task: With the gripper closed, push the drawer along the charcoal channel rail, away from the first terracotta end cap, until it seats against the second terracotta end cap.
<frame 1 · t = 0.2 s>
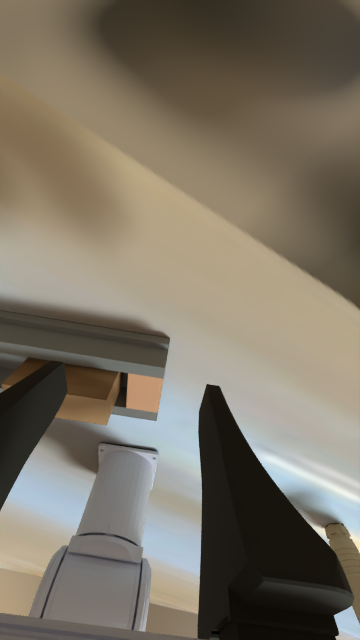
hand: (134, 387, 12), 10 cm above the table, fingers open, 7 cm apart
handle: (333, 525, 38), on the table
rail: (58, 353, 23), on the table
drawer: (83, 364, 23), point 1 cm above the table, touching rail
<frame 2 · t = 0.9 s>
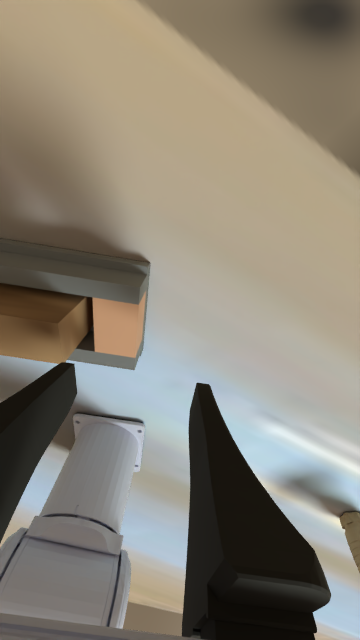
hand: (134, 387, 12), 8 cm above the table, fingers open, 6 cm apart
handle: (349, 513, 33), on the table
rail: (12, 289, 19), on the table
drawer: (42, 300, 18), point 1 cm above the table, touching rail
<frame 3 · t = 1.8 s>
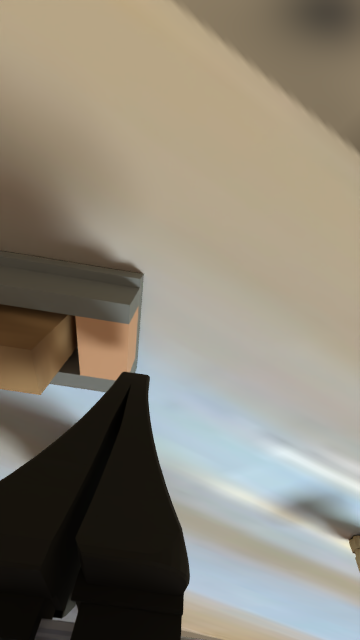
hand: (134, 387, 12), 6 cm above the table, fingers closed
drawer: (21, 315, 16), point 1 cm above the table, touching rail
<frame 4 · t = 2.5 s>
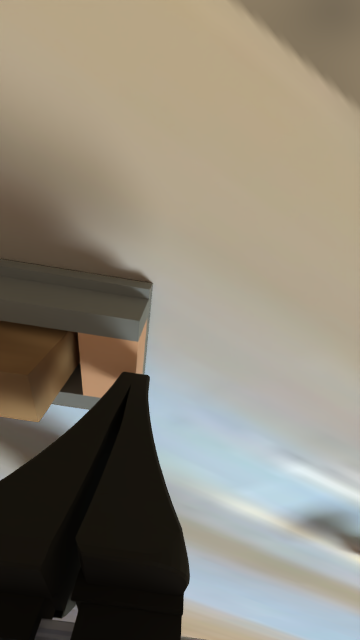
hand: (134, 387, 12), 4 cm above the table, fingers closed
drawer: (18, 328, 14), point 1 cm above the table, touching rail
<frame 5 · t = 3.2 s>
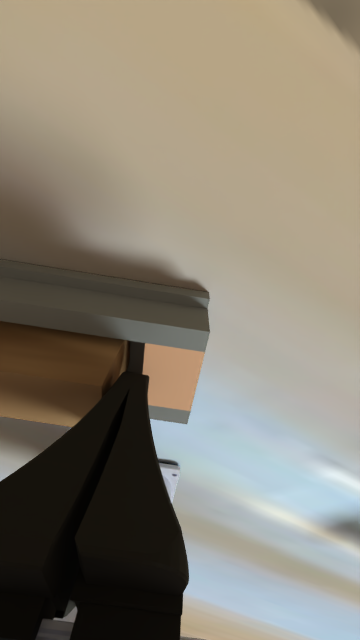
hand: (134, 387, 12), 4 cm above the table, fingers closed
rail: (34, 321, 15), on the table
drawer: (67, 335, 15), point 1 cm above the table, touching gripper, rail
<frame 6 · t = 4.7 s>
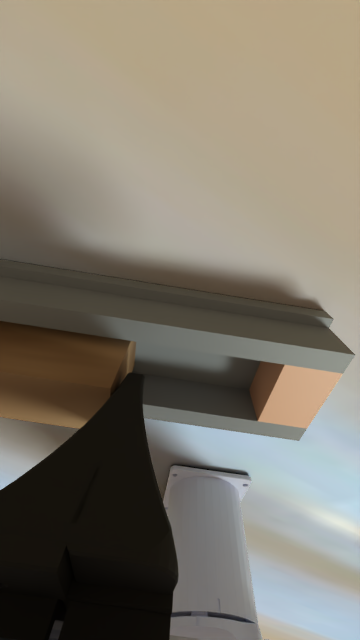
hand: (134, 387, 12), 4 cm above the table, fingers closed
rail: (139, 337, 16), on the table
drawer: (73, 337, 15), point 1 cm above the table, touching gripper, rail
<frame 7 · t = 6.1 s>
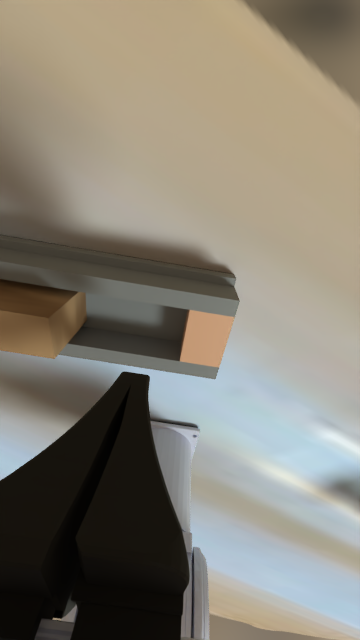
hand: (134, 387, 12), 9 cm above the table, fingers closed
rail: (90, 298, 19), on the table
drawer: (35, 295, 18), point 1 cm above the table, touching rail
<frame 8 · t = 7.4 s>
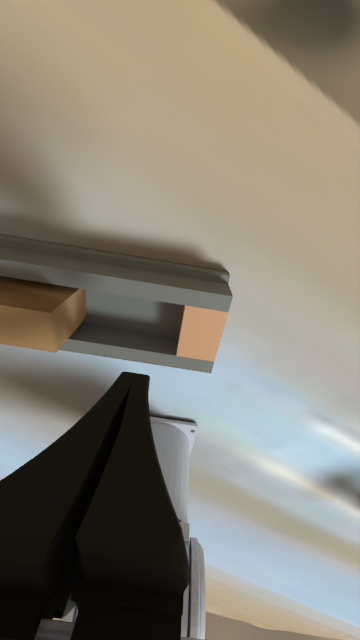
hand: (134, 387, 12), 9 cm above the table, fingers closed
rail: (90, 296, 20), on the table
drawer: (37, 293, 19), point 1 cm above the table, touching rail
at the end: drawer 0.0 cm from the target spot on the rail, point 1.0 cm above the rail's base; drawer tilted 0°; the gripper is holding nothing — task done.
